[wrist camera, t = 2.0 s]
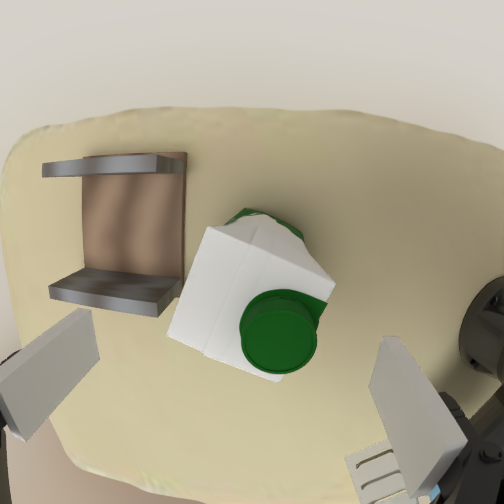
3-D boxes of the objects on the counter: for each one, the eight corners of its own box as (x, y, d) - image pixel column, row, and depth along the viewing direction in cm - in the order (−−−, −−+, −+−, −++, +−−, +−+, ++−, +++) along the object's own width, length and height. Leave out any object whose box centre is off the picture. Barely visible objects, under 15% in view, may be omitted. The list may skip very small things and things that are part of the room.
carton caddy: (186, 152, 33) (157, 143, 24) (184, 295, 37) (158, 326, 28) (87, 157, 34) (43, 154, 25) (90, 283, 38) (51, 306, 29)
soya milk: (280, 296, 36) (282, 413, 16) (210, 265, 36) (140, 354, 16) (313, 229, 34) (360, 289, 14) (239, 196, 34) (188, 213, 14)
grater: (359, 480, 43) (374, 561, 23) (343, 456, 41) (359, 551, 22) (409, 459, 41) (437, 537, 22) (400, 432, 40) (434, 522, 20)
